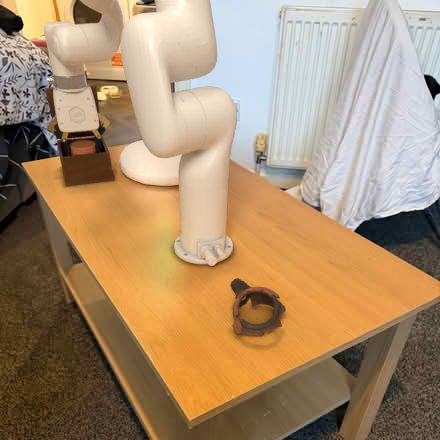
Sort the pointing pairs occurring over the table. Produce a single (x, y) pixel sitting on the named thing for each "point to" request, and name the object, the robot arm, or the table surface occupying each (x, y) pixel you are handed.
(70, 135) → the lid
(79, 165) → the chest
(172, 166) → the plate
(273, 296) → the pottery mug
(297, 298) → the table surface
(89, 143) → the orange short cylinder
